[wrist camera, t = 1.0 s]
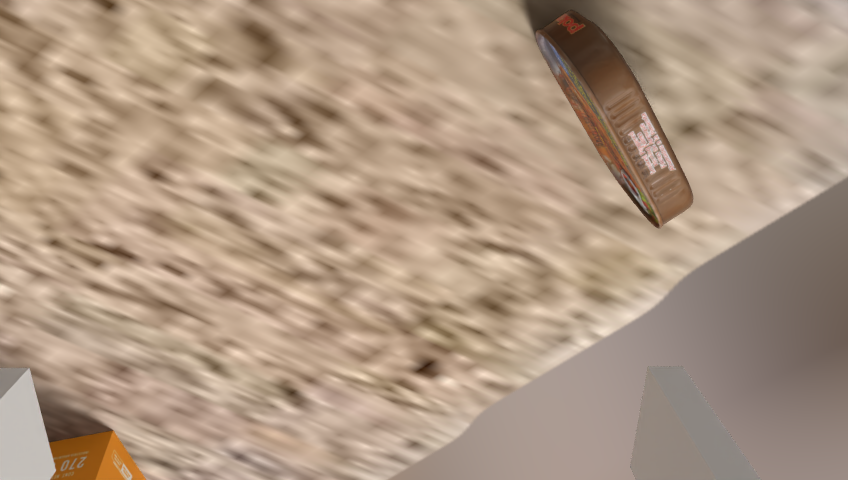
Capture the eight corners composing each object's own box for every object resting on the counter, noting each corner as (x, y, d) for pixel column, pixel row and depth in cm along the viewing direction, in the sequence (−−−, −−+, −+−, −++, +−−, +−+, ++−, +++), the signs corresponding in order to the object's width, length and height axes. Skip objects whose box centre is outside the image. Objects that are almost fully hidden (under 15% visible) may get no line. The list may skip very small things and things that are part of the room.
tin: (519, 16, 39) (557, 63, 32) (565, -15, 39) (614, 25, 32) (619, 189, 47) (666, 256, 40) (659, 166, 46) (714, 230, 39)
